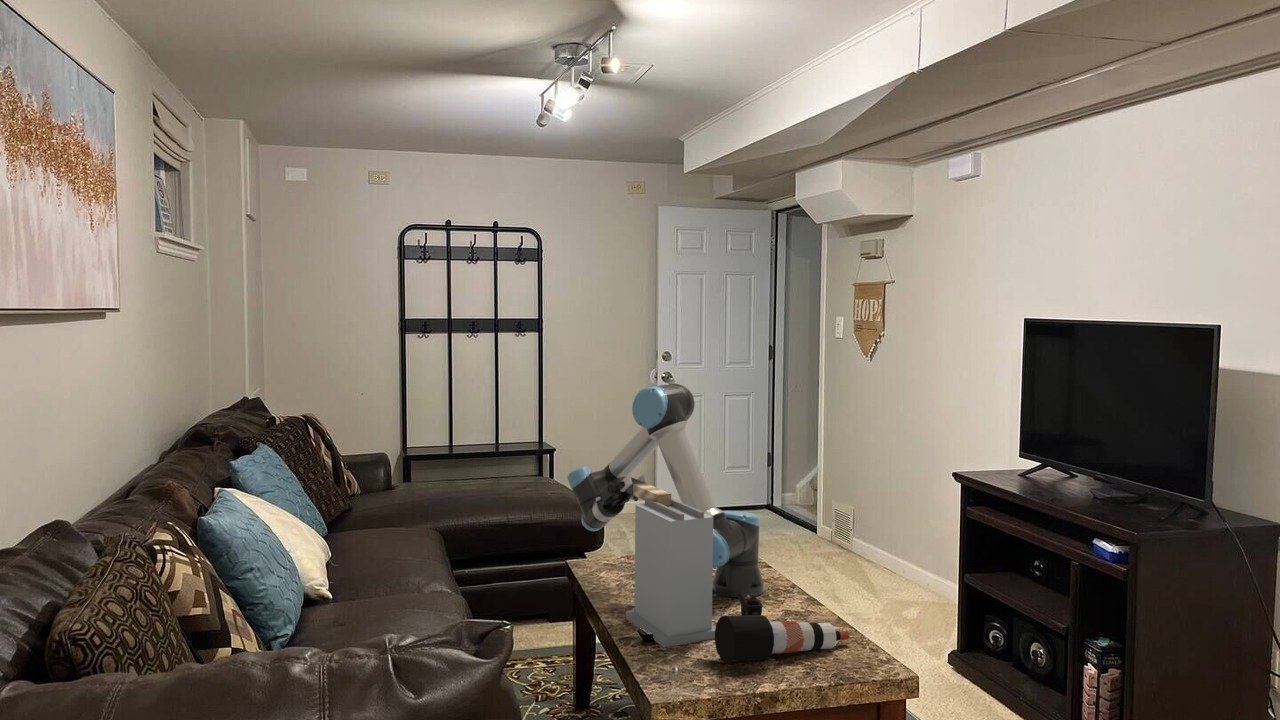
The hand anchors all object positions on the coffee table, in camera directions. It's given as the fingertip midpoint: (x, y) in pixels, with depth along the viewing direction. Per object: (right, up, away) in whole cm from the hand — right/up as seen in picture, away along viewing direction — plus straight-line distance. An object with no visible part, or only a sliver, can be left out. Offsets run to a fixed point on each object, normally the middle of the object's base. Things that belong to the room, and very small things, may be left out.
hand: (637, 478), depth 241 cm
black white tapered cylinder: (+36, -38, -34) cm, 62 cm away
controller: (+29, -36, -17) cm, 50 cm away
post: (+9, -36, -17) cm, 41 cm away
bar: (+1, -4, -3) cm, 5 cm away
